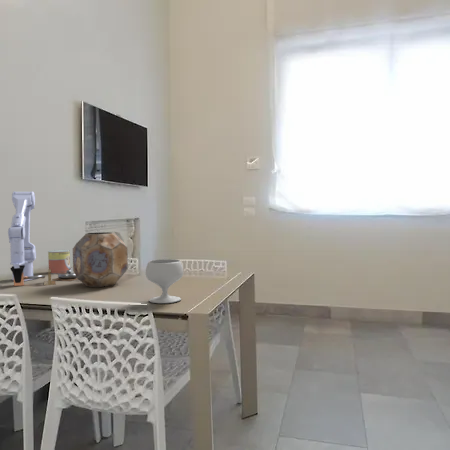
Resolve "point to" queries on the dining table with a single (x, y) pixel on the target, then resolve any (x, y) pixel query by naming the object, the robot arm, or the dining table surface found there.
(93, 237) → the planter
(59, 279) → the wheel mount
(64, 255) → the canned food
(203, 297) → the dining table surface
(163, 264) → the chalice
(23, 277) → the hook rod
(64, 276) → the handwheel
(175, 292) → the dining table surface
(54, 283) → the eye post
